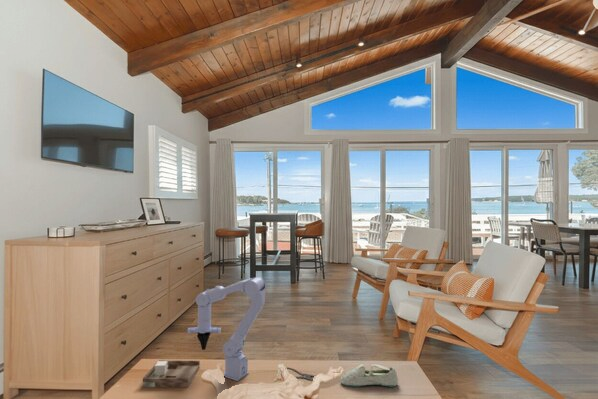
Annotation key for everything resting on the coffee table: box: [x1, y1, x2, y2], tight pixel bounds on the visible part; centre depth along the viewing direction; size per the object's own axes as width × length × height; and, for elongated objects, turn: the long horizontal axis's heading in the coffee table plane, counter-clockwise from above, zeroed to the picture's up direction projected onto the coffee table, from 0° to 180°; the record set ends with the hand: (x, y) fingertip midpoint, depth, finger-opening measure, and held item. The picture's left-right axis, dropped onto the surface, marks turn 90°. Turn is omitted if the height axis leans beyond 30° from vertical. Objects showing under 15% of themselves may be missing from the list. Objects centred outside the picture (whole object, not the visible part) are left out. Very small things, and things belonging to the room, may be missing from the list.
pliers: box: [286, 366, 315, 382], centre depth 146 cm, size 10×1×20 cm
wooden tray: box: [142, 359, 201, 388], centre depth 142 cm, size 18×16×4 cm
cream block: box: [154, 360, 168, 375], centre depth 142 cm, size 4×4×4 cm
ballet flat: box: [339, 363, 399, 388], centre depth 139 cm, size 9×24×8 cm, turn 89°
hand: (204, 348), depth 149 cm, fingers closed
